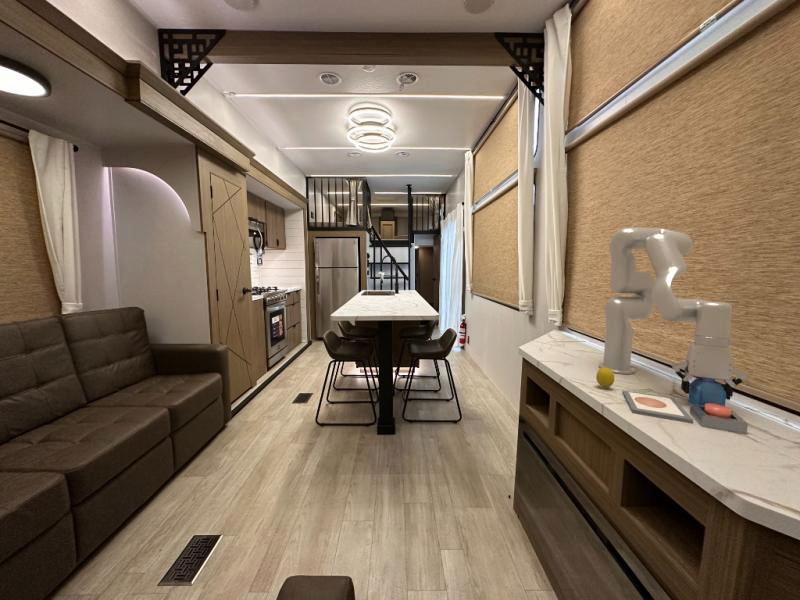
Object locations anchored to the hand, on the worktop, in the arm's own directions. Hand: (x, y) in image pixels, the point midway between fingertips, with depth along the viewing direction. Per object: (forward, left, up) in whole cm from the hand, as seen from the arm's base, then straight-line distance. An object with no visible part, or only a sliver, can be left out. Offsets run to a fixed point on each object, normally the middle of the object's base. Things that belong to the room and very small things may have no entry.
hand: (705, 395), depth 98 cm
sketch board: (+7, -14, -4) cm, 16 cm away
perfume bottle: (0, 0, -4) cm, 4 cm away
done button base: (+12, -1, -4) cm, 13 cm away
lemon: (-4, -26, -4) cm, 27 cm away
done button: (+12, -1, -2) cm, 12 cm away
